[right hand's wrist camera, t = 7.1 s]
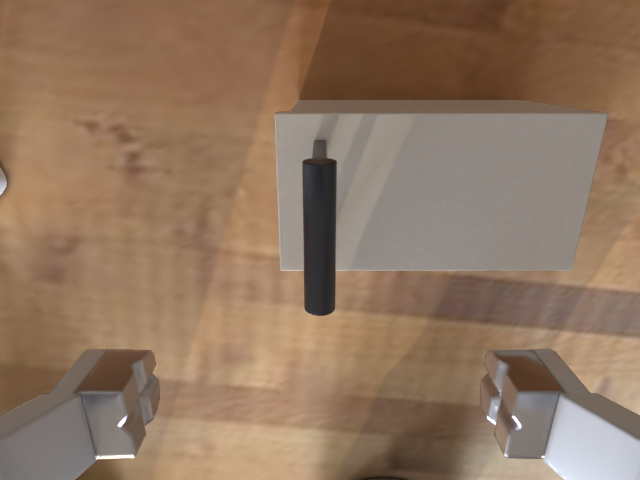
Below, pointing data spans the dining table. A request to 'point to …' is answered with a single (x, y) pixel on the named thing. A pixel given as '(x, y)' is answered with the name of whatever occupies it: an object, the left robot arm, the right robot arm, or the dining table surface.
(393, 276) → the dining table surface
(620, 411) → the right robot arm
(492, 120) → the lid
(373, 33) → the dining table surface
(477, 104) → the chest
